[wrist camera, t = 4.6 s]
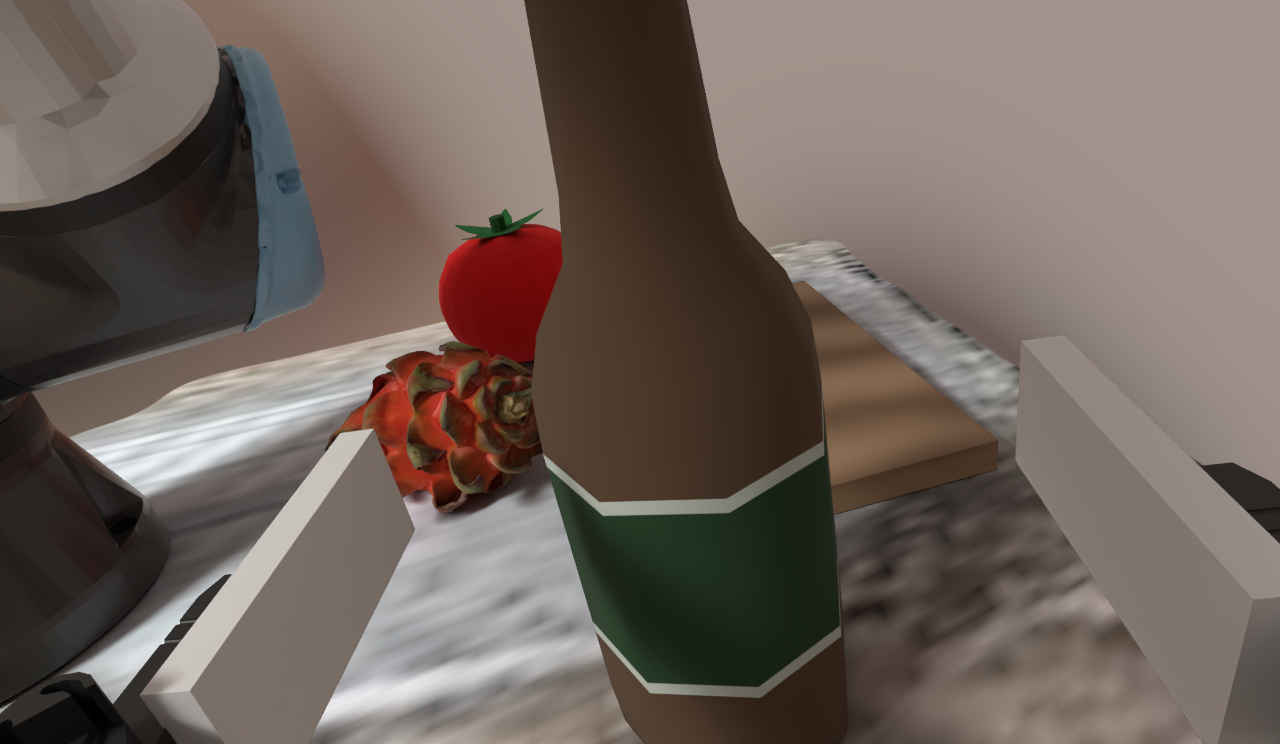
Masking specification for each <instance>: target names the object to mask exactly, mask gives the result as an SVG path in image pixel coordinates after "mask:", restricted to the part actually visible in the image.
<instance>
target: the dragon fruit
mask: <svg viewBox="0 0 1280 744" xmlns="http://www.w3.org/2000/svg"><path fill="white" fill-rule="evenodd" d="M439 351H445V352H444V354H443V355H434V354H432V353H430V352H426V351H416V352H412V353H408V354H406V355H403V356H401V357H399V358H396V359H393V360H392V361H391V362H389V363H387V364H386V367H387V368H388V369H389V370H393V371H391V372H388V373H386V374H382V375H379V376H377V377H376V378H375V379H374V380H373V389H372V393H371V395H370V397H369V399H368V400H367V402H366V403H365V404H364V405H362V406H361V407H359V408H357V409H356V410H354V411H353V412H352V413H351V414H350V415H349V417H348V418H347V420H346V422H345V423H344V424H343V425H342V426H341V427H340V428H339V429H338V430H336V431H335V432H334V433H333V434H332V435H331V437H330V439H329V443H328V445H327V447H326V450H325V451H327V450H328V449H329V447H330V446H331V445H332V443H333V442H334V441H335V440H336V438H337V437H338V436H339V434H340V433H345V432H353V431H360V430H367V429H374V431H375V433H376V436H377V438H378V441H379V443H380V445H381V448H382V450H383V453H384V455H385V458H386V460H387V462H388V465H389V467H390V470H391V472H392V475H393V477H394V479H395V482H396V484H397V487H398V489H399V491H400V494H401V496H402V498H403V497H404V496H406V495H409V494H411V493H413V492H415V491H416V490H428V491H430V493H431V494H432V496H433V505H434V507H435V508H436V509H437V510H438V511H439V512H441V513H448V512H453V510H454V509H455V508H456V507H458V506H460V505H461V504H464V503H465V502H466V501H467V499H468V494H472V493H479V492H484V493H491V492H495V491H497V490H498V489H499V488H503V487H504V486H505V485H506V484H507V483H508V482H509V481H510V480H511V479H512V478H514V474H518V473H523V472H525V471H526V470H528V469H529V468H531V467H532V462H531V457H533V456H536V455H539V454H541V453H543V451H542V446H541V441H540V436H539V431H538V426H537V421H536V416H535V411H534V406H533V401H532V396H531V388H532V378H533V375H532V374H531V373H530V372H529V371H528V370H527V369H526V368H524V367H523V366H521V365H519V364H518V363H516V362H514V361H513V360H510V359H508V358H506V357H505V356H502V355H496V356H494V357H493V358H490V356H489V354H488V352H487V351H486V350H484V349H481V348H478V347H474V346H471V345H467V344H464V343H460V342H455V341H453V342H449V343H446V344H444V345H440V347H439ZM328 446H329V447H328Z"/></svg>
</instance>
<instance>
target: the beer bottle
mask: <svg viewBox="0 0 1280 744" xmlns="http://www.w3.org/2000/svg"><path fill="white" fill-rule="evenodd" d="M524 1H525V7H526V13H527V18H528V24H529V29H530V35H531V41H532V47H533V52H534V58H535V64H536V69H537V75H538V81H539V86H540V92H541V98H542V103H543V109H544V114H545V120H546V126H547V132H548V137H549V143H550V148H551V154H552V160H553V165H554V171H555V177H556V182H557V188H558V194H559V207H560V224H561V240H562V257H563V264H562V267H561V269H560V272H559V275H558V278H557V280H556V283H555V286H554V288H553V291H552V294H551V296H550V299H549V302H548V304H547V307H546V310H545V312H544V315H543V318H542V321H541V323H540V326H539V329H538V331H537V337H536V347H535V357H534V368H533V378H532V388H531V396H532V401H533V406H534V411H535V416H536V421H537V426H538V431H539V436H540V441H541V446H542V451H543V455H544V459H545V462H546V466H547V469H548V472H549V476H550V479H551V482H552V486H553V489H554V492H555V496H556V499H557V503H558V506H559V509H560V513H561V516H562V519H563V523H564V526H565V530H566V533H567V536H568V540H569V543H570V546H571V550H572V553H573V556H574V560H575V563H576V567H577V570H578V573H579V577H580V580H581V583H582V587H583V590H584V594H585V597H586V600H587V604H588V607H589V610H590V614H591V617H592V621H593V624H594V627H595V631H596V634H597V637H598V641H599V644H600V647H601V651H602V654H603V658H604V661H605V664H606V668H607V671H608V674H609V678H610V681H611V684H612V687H613V690H614V692H615V695H616V697H617V700H618V702H619V705H620V708H621V710H622V713H623V715H624V718H625V720H626V722H627V723H628V724H629V725H630V727H631V728H632V729H633V730H634V732H635V733H636V734H637V735H638V737H639V738H640V739H641V740H642V742H643V743H644V744H835V743H836V742H837V741H838V740H840V739H841V738H842V737H843V736H844V735H845V733H846V732H847V703H846V674H845V652H844V630H843V612H842V601H841V590H840V579H839V568H838V557H837V545H836V534H835V523H834V512H833V501H832V490H831V479H830V468H829V457H828V445H827V434H826V423H825V412H824V401H823V390H822V379H821V374H820V368H819V362H818V357H817V351H816V346H815V340H814V334H813V329H812V323H811V320H810V318H809V316H808V314H807V312H806V310H805V308H804V306H803V304H802V302H801V300H800V298H799V296H798V294H797V292H796V290H795V289H794V287H793V285H792V283H791V281H790V279H789V277H788V275H787V273H786V271H785V270H784V269H783V267H782V266H781V265H780V264H779V263H778V262H777V261H776V260H775V259H774V258H773V257H772V256H771V255H770V253H769V252H768V251H767V250H766V249H765V248H764V247H763V246H762V245H761V244H760V243H759V242H758V241H757V240H756V238H755V237H754V236H753V235H752V234H751V233H750V232H749V231H748V230H747V229H746V228H745V227H744V226H743V225H742V223H741V222H740V221H739V220H738V217H737V214H736V211H735V208H734V205H733V202H732V199H731V196H730V192H729V189H728V186H727V183H726V180H725V177H724V174H723V171H722V168H721V164H720V161H719V158H718V153H717V148H716V144H715V138H714V133H713V128H712V124H711V118H710V113H709V108H708V104H707V99H706V94H705V89H704V84H703V79H702V74H701V69H700V64H699V59H698V54H697V49H696V44H695V39H694V34H693V29H692V25H691V19H690V14H689V9H688V4H687V0H524Z"/></svg>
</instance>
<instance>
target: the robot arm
mask: <svg viewBox="0 0 1280 744" xmlns="http://www.w3.org/2000/svg"><path fill="white" fill-rule="evenodd" d="M300 175H301V172H300V169H299V166H298V162H297V158H296V154H295V149H294V145H293V142H292V139H291V135H290V132H289V128H288V125H287V122H286V118H285V115H284V112H283V108H282V105H281V103H280V99H279V96H278V93H277V90H276V86H275V83H274V80H273V77H272V75H271V72H270V69H269V66H268V64H267V62H266V60H265V58H264V56H263V55H262V54H261V53H260V52H258V51H257V50H256V49H252V48H245V47H242V48H237V47H235V46H231V45H225V46H223V47H220V48H219V47H217V46H216V44H215V41H214V39H213V37H212V35H211V33H210V32H209V31H208V29H207V27H206V26H205V25H204V23H203V22H202V20H201V19H200V18H199V16H198V15H197V14H196V13H195V11H194V10H193V9H192V8H190V7H189V6H188V5H187V4H185V3H184V2H183V1H182V0H0V703H1V702H3V701H5V700H7V699H9V698H10V697H12V696H14V695H16V694H17V693H19V692H21V691H23V690H24V689H26V688H28V687H29V686H31V685H33V684H34V683H36V682H37V681H39V680H41V679H42V678H44V677H45V676H47V675H48V674H50V673H51V672H53V671H54V670H56V669H57V668H59V667H61V666H62V665H63V664H65V663H66V662H68V661H69V660H70V659H72V658H73V657H75V656H76V655H77V654H79V653H80V652H81V651H83V650H84V649H85V648H87V647H88V646H89V645H90V644H92V643H93V642H94V641H95V640H97V639H98V638H99V637H100V636H102V635H103V634H104V633H105V632H106V631H107V630H109V629H110V628H111V627H112V626H113V625H114V624H115V623H116V622H117V621H119V620H120V619H121V618H122V617H123V616H124V615H125V614H126V613H127V612H128V611H129V610H130V609H131V608H132V607H133V606H134V605H135V604H136V603H137V601H138V600H139V599H140V598H141V597H142V596H143V595H144V593H145V592H146V591H147V590H148V588H149V587H150V586H151V584H152V583H153V582H154V580H155V579H156V577H157V576H158V574H159V572H160V571H161V569H162V567H163V565H164V563H165V561H166V558H167V555H168V551H169V545H170V540H169V535H168V532H167V530H166V528H165V527H164V525H163V523H162V522H161V520H160V518H159V517H158V515H157V513H156V512H155V510H154V508H153V507H152V505H151V504H150V502H149V501H148V500H147V499H146V498H145V496H144V495H143V494H141V493H140V492H139V491H138V490H136V489H135V488H134V487H133V486H131V485H130V484H129V483H127V482H126V481H125V480H123V479H122V478H121V477H119V476H118V475H117V474H116V473H114V472H113V471H112V470H110V469H109V468H108V467H106V466H105V465H104V464H103V463H101V462H100V461H99V460H97V459H96V458H95V457H93V456H92V455H91V454H89V453H88V452H87V451H86V450H84V449H83V448H82V447H80V446H79V445H78V444H76V443H75V442H74V441H72V440H71V439H70V438H69V437H67V436H66V435H65V434H63V433H62V432H61V431H59V430H58V429H57V428H56V427H55V426H54V425H53V423H52V422H51V421H50V419H49V418H48V416H47V415H46V413H45V412H44V410H43V409H42V407H41V406H40V404H39V402H38V401H37V399H36V398H35V396H34V395H33V393H32V392H33V391H36V390H40V389H44V388H47V387H49V386H52V385H56V384H59V383H63V382H66V381H70V380H73V379H77V378H80V377H84V376H87V375H91V374H95V373H98V372H101V371H105V370H108V369H112V368H116V367H119V366H123V365H126V364H130V363H133V362H137V361H140V360H143V359H147V358H151V357H154V356H158V355H161V354H165V353H168V352H172V351H175V350H179V349H182V348H186V347H189V346H193V345H196V344H200V343H203V342H207V341H210V340H214V339H217V338H221V337H224V336H228V335H231V334H235V333H238V332H242V331H244V332H248V331H252V330H255V329H256V328H257V327H259V326H260V325H261V323H263V322H265V321H268V320H271V319H273V318H277V317H279V316H282V315H285V314H288V313H291V312H293V311H296V310H299V309H301V308H304V307H306V306H308V305H310V304H311V303H312V302H314V301H315V300H316V299H317V298H318V296H319V295H320V293H321V292H322V290H323V287H324V284H325V276H326V272H325V266H324V260H323V255H322V250H321V246H320V241H319V238H318V233H317V230H316V226H315V222H314V218H313V214H312V210H311V207H310V203H309V200H308V196H307V193H306V190H305V187H304V183H303V182H302V180H301V176H300ZM1015 461H1016V462H1017V464H1018V465H1019V467H1020V468H1021V470H1022V471H1023V473H1024V474H1025V476H1026V477H1027V479H1028V480H1029V482H1030V483H1031V485H1032V486H1033V488H1034V489H1035V491H1036V492H1037V494H1038V495H1039V497H1040V498H1041V500H1042V501H1043V503H1044V504H1045V506H1046V507H1047V509H1048V510H1049V512H1050V513H1051V515H1052V516H1053V518H1054V519H1055V521H1056V522H1057V524H1058V526H1059V527H1060V529H1061V530H1062V532H1063V533H1064V535H1065V536H1066V538H1067V539H1068V541H1069V542H1070V544H1071V545H1072V547H1073V548H1074V550H1075V551H1076V553H1077V554H1078V556H1079V557H1080V559H1081V560H1082V562H1083V563H1084V565H1085V566H1086V568H1087V569H1088V571H1089V572H1090V574H1091V575H1092V577H1093V578H1094V580H1095V581H1096V583H1097V584H1098V586H1099V587H1100V589H1101V590H1102V592H1103V593H1104V595H1105V596H1106V598H1107V599H1108V601H1109V602H1110V604H1111V605H1112V607H1113V608H1114V610H1115V611H1116V613H1117V614H1118V616H1119V617H1120V619H1121V620H1122V622H1123V623H1124V625H1125V626H1126V628H1127V629H1128V631H1129V632H1130V634H1131V635H1132V637H1133V638H1134V640H1135V641H1136V643H1137V644H1138V646H1139V647H1140V649H1141V650H1142V652H1143V653H1144V655H1145V656H1146V658H1147V659H1148V661H1149V662H1150V664H1151V665H1152V667H1153V668H1154V670H1155V671H1156V673H1157V674H1158V676H1159V677H1160V679H1161V680H1162V682H1163V683H1164V685H1165V686H1166V688H1167V689H1168V691H1169V692H1170V694H1171V695H1172V697H1173V698H1174V700H1175V701H1176V703H1177V704H1178V706H1179V707H1180V709H1181V710H1182V712H1183V713H1184V715H1185V716H1186V718H1187V719H1188V721H1189V722H1190V724H1191V725H1192V727H1193V728H1194V730H1195V731H1196V733H1197V734H1198V736H1199V737H1200V739H1201V740H1202V742H1203V743H1204V744H1280V489H1279V488H1277V486H1275V485H1274V484H1273V483H1272V482H1271V481H1269V480H1267V479H1265V478H1263V477H1261V476H1259V475H1257V474H1255V473H1253V472H1251V471H1249V470H1247V469H1244V468H1242V467H1240V466H1238V465H1236V464H1234V463H1224V464H1214V465H1205V466H1199V465H1198V464H1197V463H1196V462H1195V461H1194V460H1193V459H1192V458H1191V457H1190V456H1189V455H1188V454H1187V453H1185V452H1184V451H1183V450H1182V449H1181V448H1180V447H1179V446H1178V445H1177V444H1176V443H1175V442H1174V441H1173V440H1172V439H1171V438H1170V437H1169V436H1168V435H1167V434H1166V433H1165V432H1164V431H1163V430H1162V429H1160V427H1159V426H1157V424H1156V423H1154V422H1153V421H1152V420H1151V419H1150V418H1149V417H1148V416H1147V415H1146V414H1145V413H1144V412H1143V411H1142V410H1141V409H1140V408H1139V407H1138V406H1137V405H1136V404H1135V403H1134V402H1133V401H1132V400H1131V399H1130V398H1129V397H1128V396H1127V395H1126V394H1124V393H1123V392H1122V391H1121V390H1120V389H1119V388H1118V387H1117V386H1116V385H1115V384H1114V383H1113V382H1112V381H1111V380H1110V379H1109V378H1108V377H1107V376H1106V375H1105V374H1104V373H1103V372H1102V371H1101V370H1100V369H1099V368H1097V366H1095V364H1094V363H1093V362H1091V361H1090V360H1089V359H1088V358H1087V357H1086V356H1085V355H1084V354H1083V353H1082V352H1081V351H1080V350H1079V349H1078V348H1077V347H1076V346H1075V345H1074V344H1073V343H1072V342H1071V341H1070V340H1069V339H1068V338H1066V337H1065V336H1064V335H1061V336H1053V337H1047V338H1039V339H1031V340H1024V341H1021V353H1020V374H1019V395H1018V416H1017V437H1016V458H1015ZM414 531H415V528H414V525H413V523H412V521H411V518H410V516H409V513H408V511H407V508H406V506H405V504H404V501H403V499H402V496H401V494H400V491H399V489H398V487H397V484H396V482H395V479H394V477H393V475H392V472H391V470H390V467H389V465H388V462H387V460H386V458H385V455H384V453H383V450H382V448H381V445H380V443H379V441H378V438H377V436H376V433H375V431H374V429H367V430H360V431H353V432H345V433H340V434H339V436H338V437H337V438H336V440H335V441H334V442H333V443H332V445H331V446H330V447H329V449H328V450H327V451H326V453H325V454H324V455H323V456H322V458H321V459H320V460H319V462H318V463H317V464H316V466H315V467H314V468H313V470H312V471H311V472H310V473H309V475H308V476H307V477H306V479H305V480H304V481H303V483H302V484H301V485H300V486H299V488H298V489H297V490H296V492H295V493H294V494H293V496H292V497H291V498H290V499H289V501H288V502H287V503H286V505H285V506H284V507H283V509H282V510H281V511H280V513H279V514H278V515H277V516H276V518H275V519H274V520H273V522H272V523H271V524H270V526H269V527H268V528H267V529H266V531H265V532H264V533H263V535H262V536H261V537H260V539H259V540H258V541H257V543H256V544H255V545H254V546H253V548H252V549H251V550H250V552H249V553H248V554H247V556H246V557H245V558H244V559H243V561H242V562H241V563H240V565H239V566H238V567H237V569H236V570H235V571H234V572H233V574H229V575H224V576H223V577H222V578H221V579H219V580H218V581H217V582H216V583H214V584H213V585H212V586H211V587H210V588H208V589H207V590H206V591H205V592H204V593H202V594H201V595H200V596H199V597H198V598H197V599H196V600H195V602H194V603H193V604H192V605H191V607H190V608H189V609H188V610H187V612H186V613H185V614H184V615H183V617H182V618H181V619H180V624H179V625H176V626H175V627H174V628H173V629H172V631H171V632H170V633H169V634H168V636H167V637H166V638H165V639H164V640H165V643H164V644H162V645H160V646H159V647H158V648H157V649H156V651H155V652H154V653H153V654H152V656H151V657H150V658H149V660H148V661H147V662H146V663H145V665H144V666H143V667H142V668H141V670H140V671H139V672H138V673H137V675H136V676H135V677H134V678H133V680H132V681H131V682H130V683H129V685H128V686H127V687H126V689H125V690H124V691H123V692H122V694H121V695H120V696H119V697H118V699H117V700H116V701H115V702H114V704H112V703H111V702H110V700H109V699H108V698H107V696H106V695H105V693H104V692H103V691H102V689H101V688H100V687H99V685H98V684H97V683H96V681H95V680H94V679H93V677H92V676H91V675H90V674H85V673H81V672H76V673H71V674H65V675H61V676H59V677H56V678H54V679H51V680H49V681H47V682H44V683H42V684H40V685H38V686H37V687H35V688H34V689H32V690H30V691H29V692H27V693H25V694H24V695H22V696H21V697H19V698H18V699H17V700H16V701H15V702H13V703H12V704H11V705H10V706H9V707H7V708H6V709H5V710H4V711H3V712H2V713H1V714H0V744H308V743H309V741H310V739H311V737H312V735H313V733H314V731H315V729H316V727H317V725H318V723H319V721H320V719H321V717H322V715H323V713H324V711H325V709H326V707H327V705H328V703H329V701H330V699H331V697H332V695H333V693H334V691H335V689H336V687H337V685H338V683H339V681H340V679H341V677H342V675H343V673H344V671H345V669H346V667H347V665H348V663H349V661H350V659H351V657H352V655H353V653H354V651H355V649H356V647H357V645H358V643H359V641H360V639H361V637H362V635H363V633H364V631H365V629H366V627H367V625H368V623H369V621H370V619H371V617H372V615H373V613H374V611H375V609H376V607H377V605H378V603H379V601H380V599H381V597H382V595H383V593H384V591H385V589H386V587H387V585H388V583H389V581H390V579H391V577H392V575H393V573H394V571H395V569H396V567H397V565H398V563H399V561H400V559H401V557H402V555H403V553H404V551H405V549H406V547H407V545H408V543H409V541H410V539H411V537H412V535H413V533H414Z"/></svg>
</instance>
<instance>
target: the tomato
mask: <svg viewBox="0 0 1280 744" xmlns="http://www.w3.org/2000/svg"><path fill="white" fill-rule="evenodd" d="M542 210H543V209H542ZM542 210H539V211H537V212H535V213H533V214H531V215H529V216H527V217H525V218H523V219H521V220H519V221H517V222H514V223H512V218H511V216H510V214H509V213H508V211H507V210H506V209H505V210H504V211H503V212H502V213H501V214H499V215H494V216H492V217H490V218H489V221H490V225H491V228H488V227H475V226H460V225H455V226H456V227H458V228H460V229H462V230H464V231H466V232H469V233H473V234H476V235H477V236H475V237H472V238H467V239H470V240H468V241H466V242H465V243H464V244H462V245H461V246H460V247H459V248H457V249H456V250H455V251H454V252H452V253H451V254H450V255H449V256H448V259H447V261H446V264H445V267H444V269H443V272H442V275H441V278H440V281H439V302H440V306H441V311H442V314H443V316H444V318H445V321H446V323H447V325H448V327H449V329H450V330H451V332H452V333H453V335H454V336H455V338H456V339H457V340H458V341H459V342H460V343H464V344H467V345H471V346H474V347H478V348H481V349H484V350H486V351H487V352H488V354H489V356H490V358H493V357H494V356H496V355H502V356H505V357H506V358H508V359H510V360H513V361H514V362H516V363H517V362H528V361H533V360H534V357H535V347H536V337H537V331H538V329H539V326H540V323H541V321H542V318H543V315H544V312H545V310H546V307H547V304H548V302H549V299H550V296H551V294H552V291H553V288H554V286H555V283H556V280H557V278H558V275H559V272H560V269H561V267H562V264H563V257H562V240H561V232H559V231H558V230H556V229H553V228H549V227H546V226H543V225H537V224H524V223H526V222H528V221H529V220H531V219H532V218H533V217H534V216H536V215H537V214H538V213H539V212H540V211H542Z"/></svg>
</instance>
